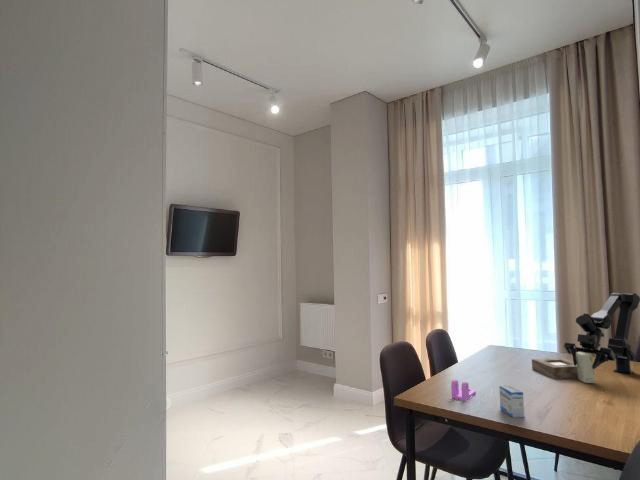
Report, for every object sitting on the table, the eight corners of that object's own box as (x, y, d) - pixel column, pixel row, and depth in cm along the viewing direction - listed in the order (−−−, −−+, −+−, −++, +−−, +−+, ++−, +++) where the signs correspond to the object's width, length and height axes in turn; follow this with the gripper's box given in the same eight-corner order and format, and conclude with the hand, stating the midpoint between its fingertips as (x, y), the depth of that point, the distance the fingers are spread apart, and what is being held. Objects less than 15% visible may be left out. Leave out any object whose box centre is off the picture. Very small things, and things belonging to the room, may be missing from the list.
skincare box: (595, 383, 162) (593, 355, 163) (584, 383, 163) (582, 355, 164) (588, 379, 168) (586, 351, 169) (577, 378, 169) (575, 351, 170)
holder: (562, 367, 188) (561, 357, 188) (587, 377, 172) (586, 366, 172) (532, 369, 187) (531, 359, 187) (554, 378, 171) (553, 367, 171)
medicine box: (500, 409, 136) (498, 385, 137) (511, 408, 137) (510, 384, 137) (513, 418, 128) (511, 392, 129) (525, 417, 129) (523, 391, 129)
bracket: (465, 401, 145) (464, 383, 146) (451, 398, 149) (451, 380, 149) (477, 393, 155) (476, 376, 155) (464, 390, 158) (463, 373, 159)
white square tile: (560, 364, 184) (560, 362, 184) (572, 368, 176) (572, 366, 176) (544, 364, 183) (544, 362, 183) (556, 369, 175) (555, 367, 175)
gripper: (563, 325, 177) (554, 352, 170) (610, 330, 161) (601, 359, 155) (572, 339, 181) (563, 366, 174) (619, 345, 165) (611, 375, 158)
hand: (583, 366), depth 165 cm, fingers closed on skincare box, 7 cm apart
